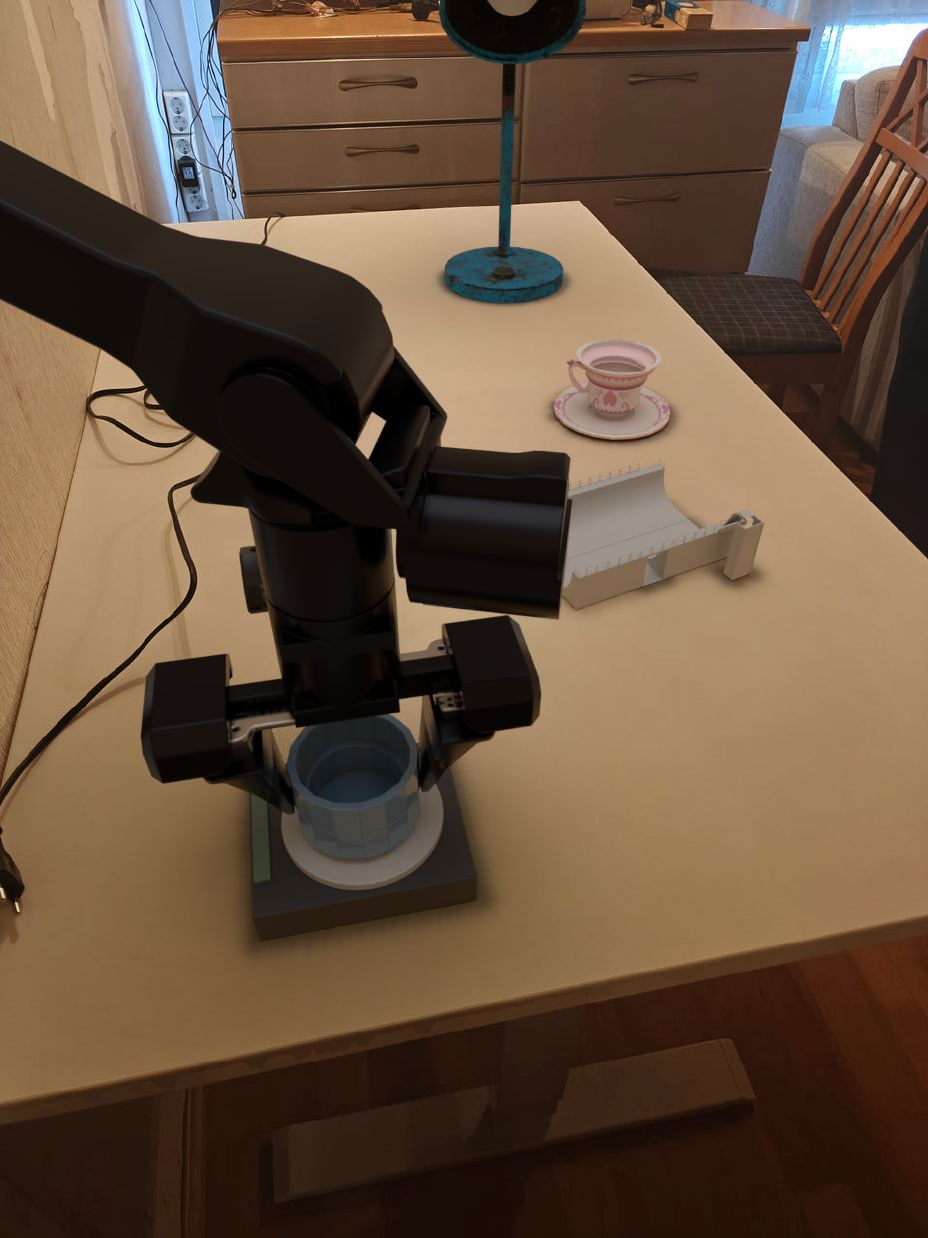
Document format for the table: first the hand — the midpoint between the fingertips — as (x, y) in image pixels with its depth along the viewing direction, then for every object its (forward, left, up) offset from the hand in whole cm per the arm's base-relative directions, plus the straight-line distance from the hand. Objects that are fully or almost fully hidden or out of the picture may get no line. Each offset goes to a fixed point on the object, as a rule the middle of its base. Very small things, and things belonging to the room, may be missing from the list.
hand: (358, 796), depth 48 cm
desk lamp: (-24, +84, -5) cm, 88 cm away
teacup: (-1, +56, -5) cm, 56 cm away
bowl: (0, 0, -2) cm, 2 cm away
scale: (0, 0, -4) cm, 5 cm away
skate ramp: (+7, +33, -5) cm, 34 cm away
